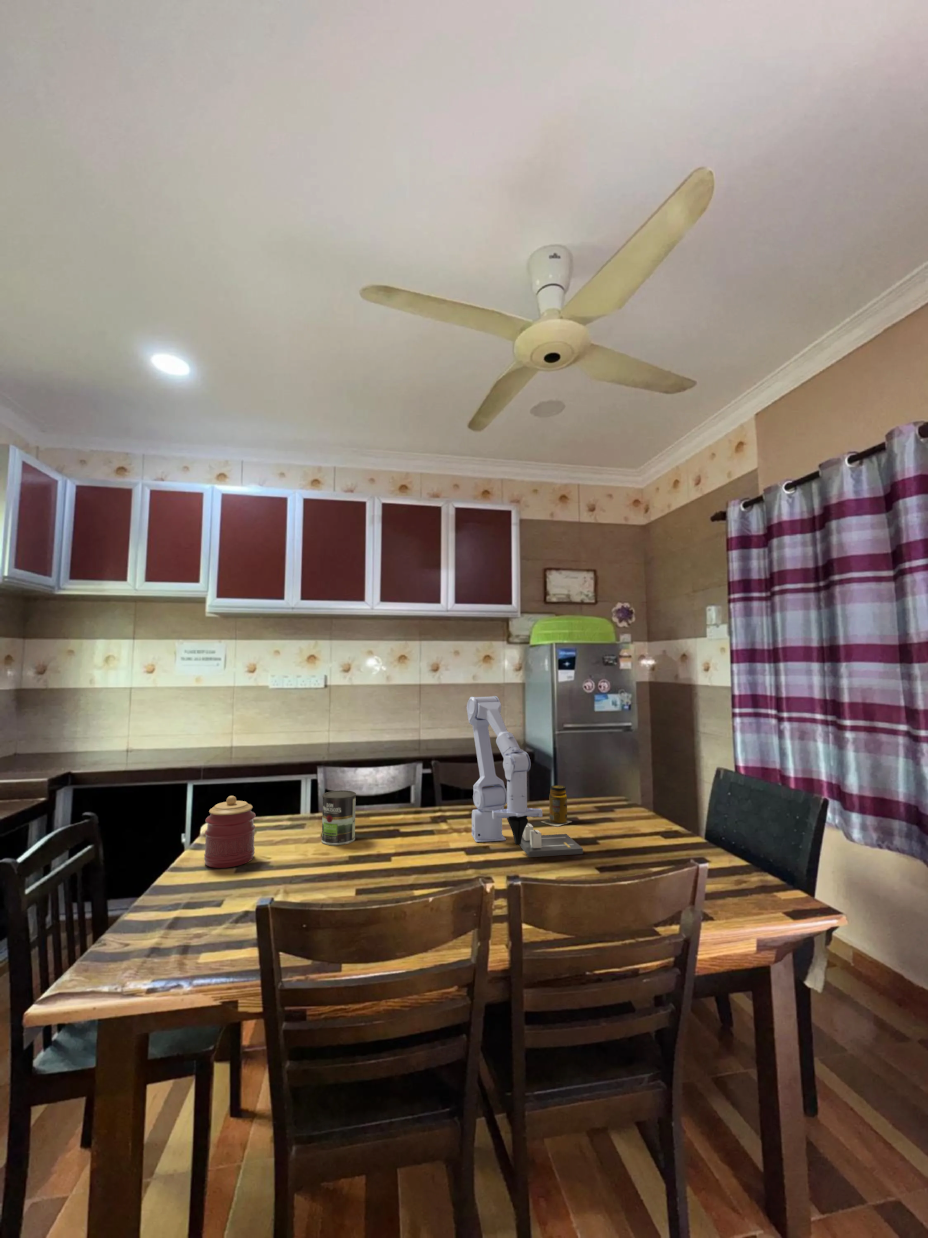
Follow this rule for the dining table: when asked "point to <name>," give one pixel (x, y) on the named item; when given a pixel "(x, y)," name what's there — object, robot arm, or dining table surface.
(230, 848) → the canister
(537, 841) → the fader near
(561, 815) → the condiment
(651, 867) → the dining table surface
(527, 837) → the fader far
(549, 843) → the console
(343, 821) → the coffee can
